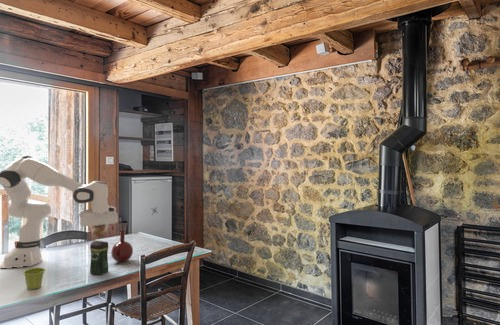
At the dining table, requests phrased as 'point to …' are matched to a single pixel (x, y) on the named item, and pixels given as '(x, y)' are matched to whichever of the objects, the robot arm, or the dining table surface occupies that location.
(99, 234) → the walnut box
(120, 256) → the round-bottom flask
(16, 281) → the dining table surface
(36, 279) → the plant pot
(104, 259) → the coffee jar
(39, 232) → the robot arm
